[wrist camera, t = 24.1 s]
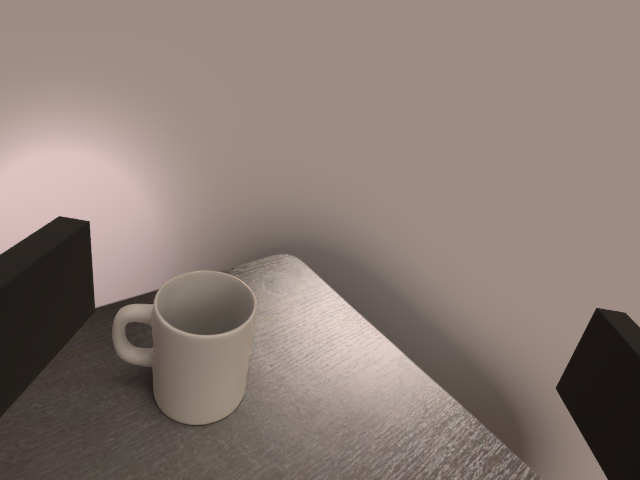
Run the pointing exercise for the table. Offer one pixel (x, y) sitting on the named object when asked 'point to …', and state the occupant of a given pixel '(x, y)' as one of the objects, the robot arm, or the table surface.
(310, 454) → the table surface
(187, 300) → the mug
